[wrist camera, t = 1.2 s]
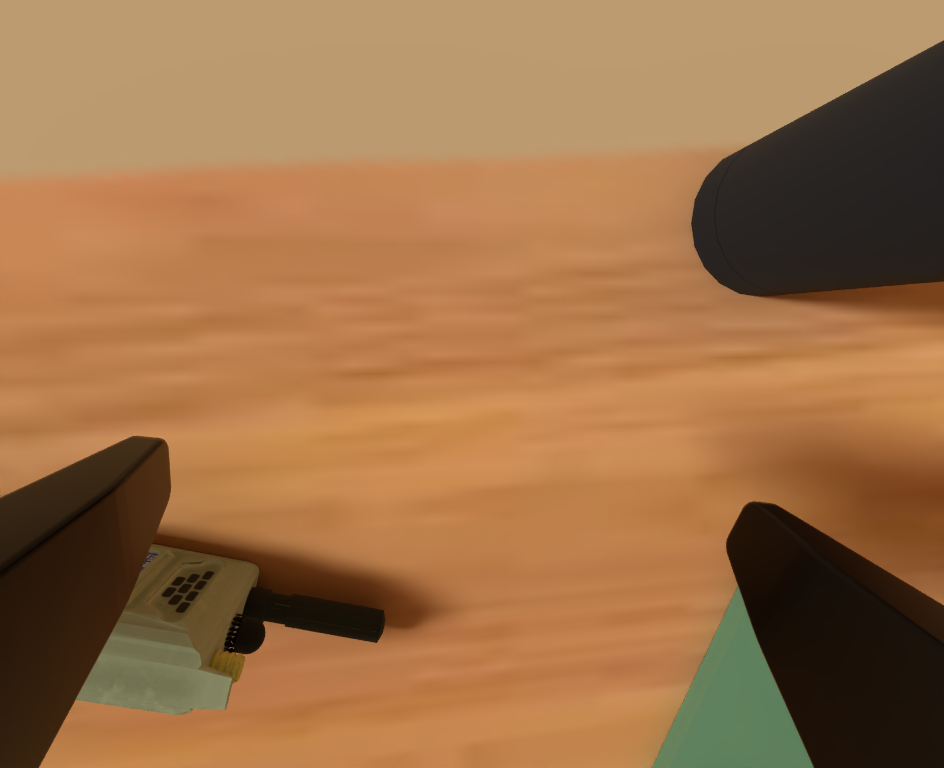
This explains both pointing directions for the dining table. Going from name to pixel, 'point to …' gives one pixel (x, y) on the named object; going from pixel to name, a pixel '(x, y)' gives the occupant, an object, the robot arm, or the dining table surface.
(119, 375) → the dining table surface
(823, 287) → the wine bottle
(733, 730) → the board
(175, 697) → the handheld radio
